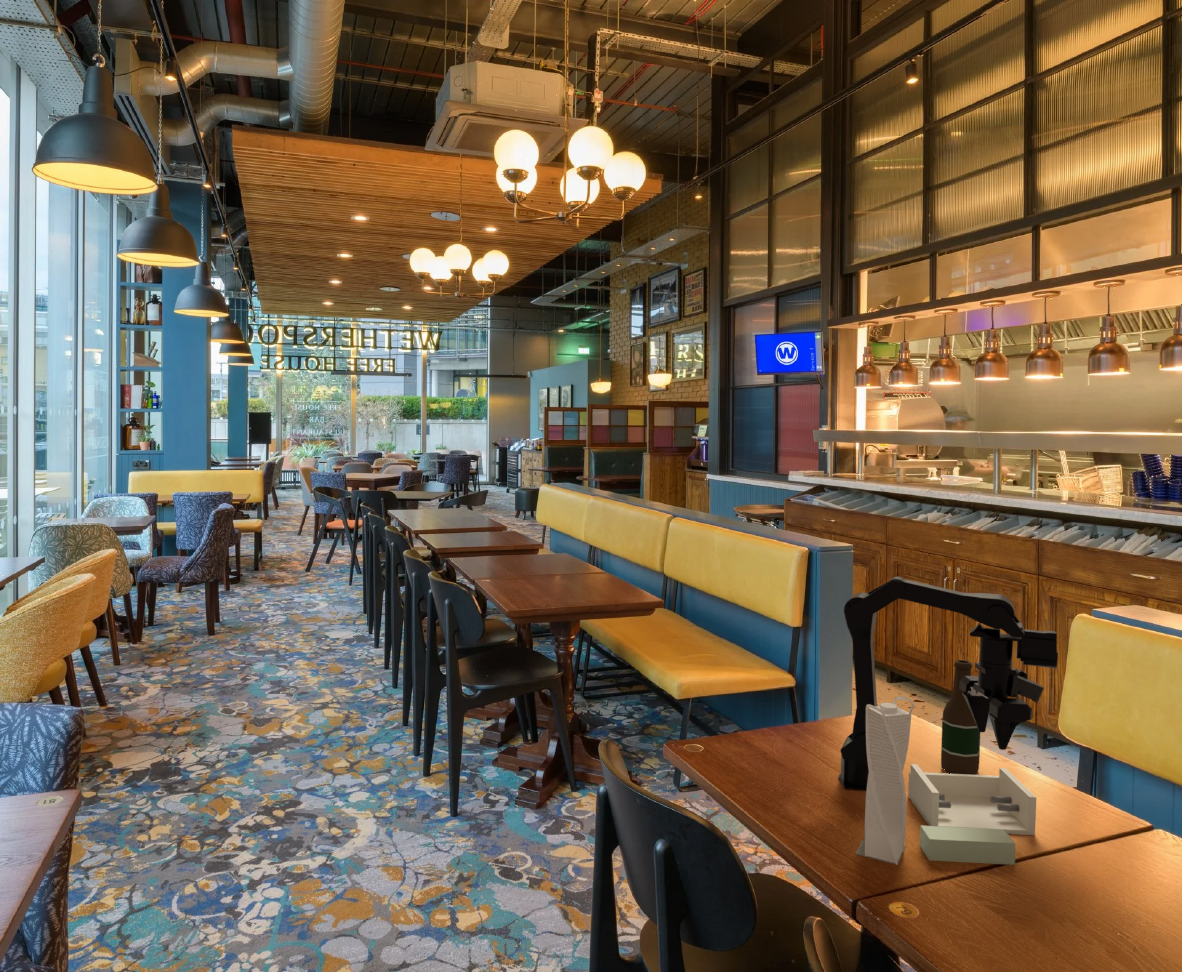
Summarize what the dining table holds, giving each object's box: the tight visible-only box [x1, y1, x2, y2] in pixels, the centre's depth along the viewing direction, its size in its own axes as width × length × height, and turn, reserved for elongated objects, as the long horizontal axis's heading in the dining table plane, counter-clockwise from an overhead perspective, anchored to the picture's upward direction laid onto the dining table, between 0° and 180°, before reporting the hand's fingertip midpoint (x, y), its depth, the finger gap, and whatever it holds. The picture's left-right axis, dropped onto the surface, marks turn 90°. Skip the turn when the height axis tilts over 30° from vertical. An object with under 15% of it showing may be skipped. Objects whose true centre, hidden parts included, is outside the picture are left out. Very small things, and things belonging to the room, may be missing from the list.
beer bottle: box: [940, 659, 981, 775], centre depth 176 cm, size 8×8×24 cm
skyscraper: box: [855, 695, 915, 866], centre depth 140 cm, size 8×8×28 cm
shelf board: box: [919, 825, 1017, 866], centre depth 140 cm, size 14×5×4 cm, turn 85°
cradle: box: [907, 763, 1037, 836], centre depth 155 cm, size 18×14×7 cm
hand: (991, 740), depth 157 cm, fingers open, 9 cm apart
